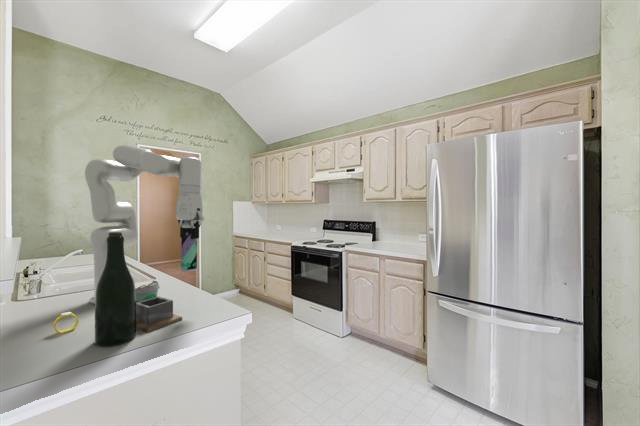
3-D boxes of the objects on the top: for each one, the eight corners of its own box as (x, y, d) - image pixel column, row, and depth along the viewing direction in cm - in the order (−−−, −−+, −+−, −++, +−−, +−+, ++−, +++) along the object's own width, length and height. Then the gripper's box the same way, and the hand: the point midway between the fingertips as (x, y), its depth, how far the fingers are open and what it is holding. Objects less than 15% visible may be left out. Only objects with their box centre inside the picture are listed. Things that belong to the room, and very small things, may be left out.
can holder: (125, 323, 99) (125, 303, 99) (159, 312, 109) (159, 294, 109) (148, 332, 92) (147, 311, 92) (182, 319, 102) (182, 300, 102)
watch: (76, 328, 95) (77, 310, 96) (78, 330, 94) (79, 312, 94) (52, 332, 91) (53, 314, 91) (53, 335, 89) (55, 316, 89)
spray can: (178, 269, 109) (179, 217, 108) (193, 267, 113) (193, 217, 112) (184, 272, 105) (185, 218, 104) (199, 270, 109) (200, 218, 108)
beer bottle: (90, 340, 86) (89, 232, 86) (130, 328, 95) (129, 229, 94) (100, 351, 80) (98, 234, 79) (141, 338, 88) (141, 232, 87)
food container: (142, 316, 104) (142, 289, 104) (128, 315, 106) (128, 288, 105) (166, 305, 117) (166, 281, 116) (153, 304, 118) (153, 280, 118)
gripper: (167, 189, 109) (166, 236, 110) (196, 190, 100) (195, 241, 101) (184, 190, 115) (184, 235, 116) (213, 191, 107) (212, 238, 108)
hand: (189, 237), depth 109 cm, fingers closed on spray can, 5 cm apart
